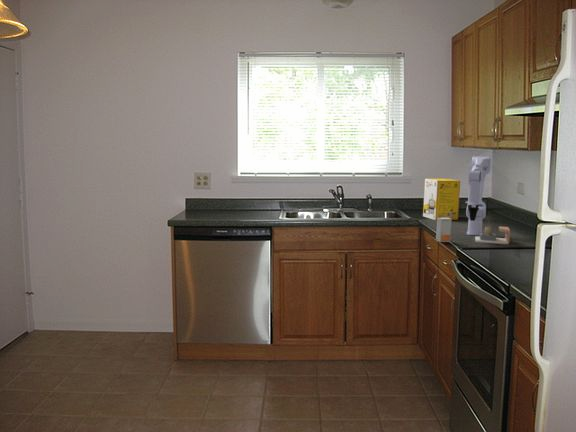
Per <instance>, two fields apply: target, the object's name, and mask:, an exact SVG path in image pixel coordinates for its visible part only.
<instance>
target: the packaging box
mask: <svg viewBox="0 0 576 432" xmlns="http://www.w3.org/2000/svg"><path fill="white" fill-rule="evenodd" d="M460 190H461V180H458V179H452V178H424V192H423V193H424V194H423V209H422V217H425V218H427V219H430V220H433V221H437V218H451V219H452V220H453V221H455V220H458V219H459V207H460Z"/></svg>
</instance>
